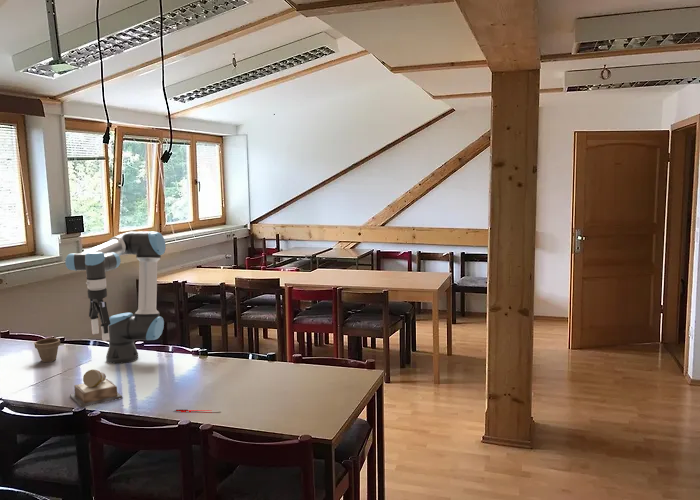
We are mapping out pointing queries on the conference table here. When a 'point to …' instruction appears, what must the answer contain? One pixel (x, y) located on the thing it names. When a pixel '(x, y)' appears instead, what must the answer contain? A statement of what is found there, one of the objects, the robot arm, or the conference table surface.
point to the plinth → (95, 393)
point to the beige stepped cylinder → (93, 378)
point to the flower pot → (47, 349)
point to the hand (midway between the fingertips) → (100, 337)
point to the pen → (191, 410)
